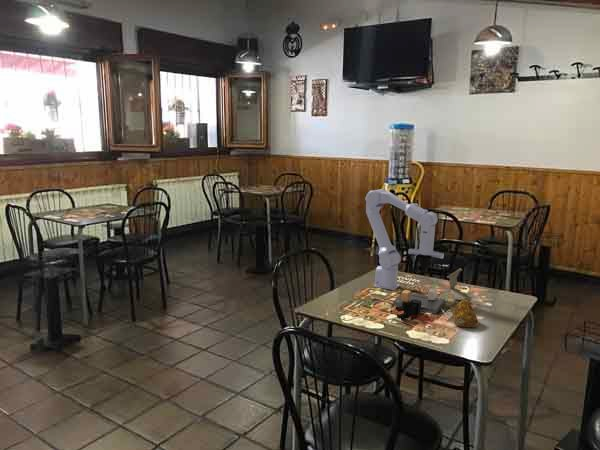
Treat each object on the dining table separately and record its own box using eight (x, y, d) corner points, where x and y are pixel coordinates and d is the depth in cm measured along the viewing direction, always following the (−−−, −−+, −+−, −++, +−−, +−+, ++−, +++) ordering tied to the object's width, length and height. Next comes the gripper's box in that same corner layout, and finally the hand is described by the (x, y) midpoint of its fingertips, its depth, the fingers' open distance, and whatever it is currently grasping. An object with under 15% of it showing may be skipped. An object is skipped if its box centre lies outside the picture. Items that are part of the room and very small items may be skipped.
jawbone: (463, 303, 210) (472, 299, 195) (446, 306, 210) (454, 302, 195) (456, 272, 213) (464, 266, 199) (439, 275, 214) (446, 269, 199)
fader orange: (400, 300, 190) (401, 292, 190) (404, 298, 194) (404, 289, 193) (407, 302, 189) (407, 293, 188) (410, 299, 193) (410, 290, 192)
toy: (412, 309, 187) (413, 293, 185) (424, 312, 184) (425, 296, 182) (393, 321, 175) (394, 304, 174) (405, 324, 172) (406, 307, 171)
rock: (476, 334, 175) (482, 323, 167) (454, 337, 175) (458, 326, 167) (467, 306, 181) (473, 294, 173) (445, 309, 182) (450, 297, 173)
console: (392, 304, 191) (393, 301, 190) (404, 294, 204) (404, 291, 203) (435, 313, 182) (435, 309, 182) (444, 302, 195) (445, 298, 195)
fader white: (427, 299, 193) (428, 291, 192) (430, 296, 196) (431, 288, 196) (434, 300, 192) (434, 292, 191) (436, 297, 195) (437, 289, 195)
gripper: (407, 240, 200) (404, 271, 202) (441, 245, 193) (439, 277, 195) (412, 237, 206) (409, 267, 208) (446, 242, 199) (443, 273, 201)
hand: (424, 272), depth 202 cm, fingers closed
